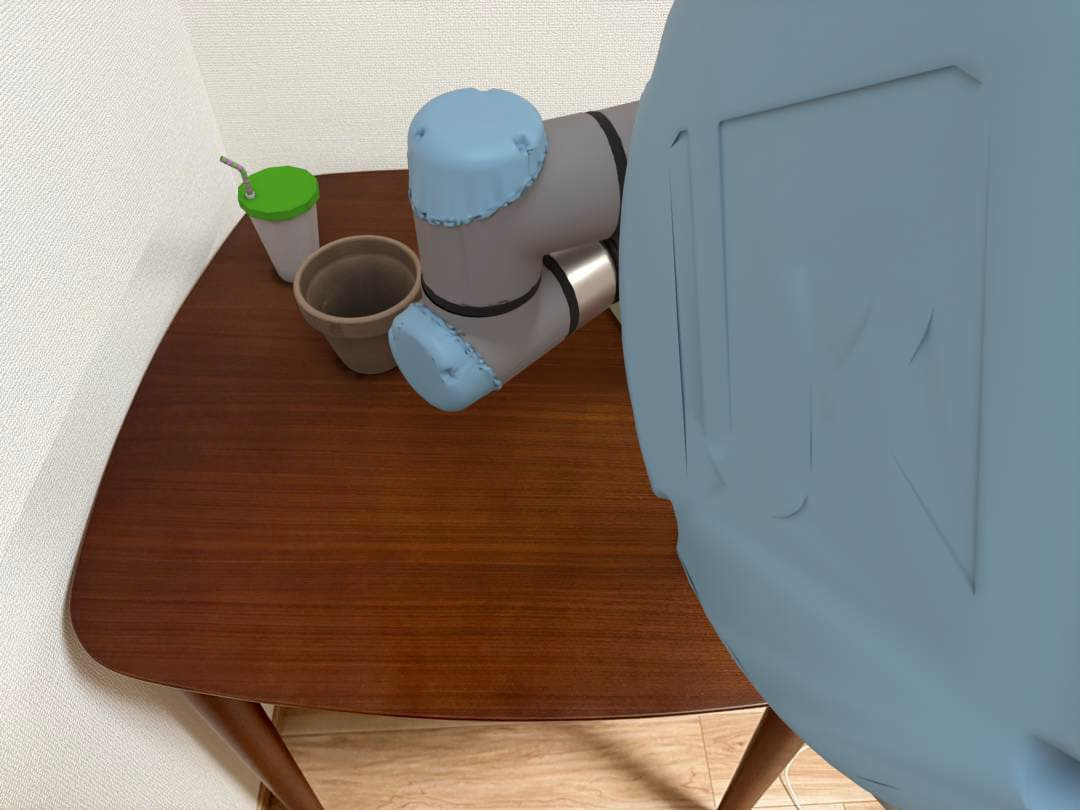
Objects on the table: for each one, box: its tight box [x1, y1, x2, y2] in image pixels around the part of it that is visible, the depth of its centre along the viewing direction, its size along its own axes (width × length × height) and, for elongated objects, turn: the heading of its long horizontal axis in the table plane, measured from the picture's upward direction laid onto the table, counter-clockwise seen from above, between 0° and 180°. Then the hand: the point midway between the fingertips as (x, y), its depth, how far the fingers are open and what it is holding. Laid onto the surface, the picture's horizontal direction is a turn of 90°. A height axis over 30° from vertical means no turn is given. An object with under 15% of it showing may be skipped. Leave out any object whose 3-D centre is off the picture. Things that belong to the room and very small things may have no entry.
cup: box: [219, 155, 321, 284], centre depth 82 cm, size 8×8×15 cm
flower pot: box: [292, 234, 422, 375], centre depth 76 cm, size 12×11×10 cm
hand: (754, 149), depth 69 cm, fingers open, 13 cm apart
